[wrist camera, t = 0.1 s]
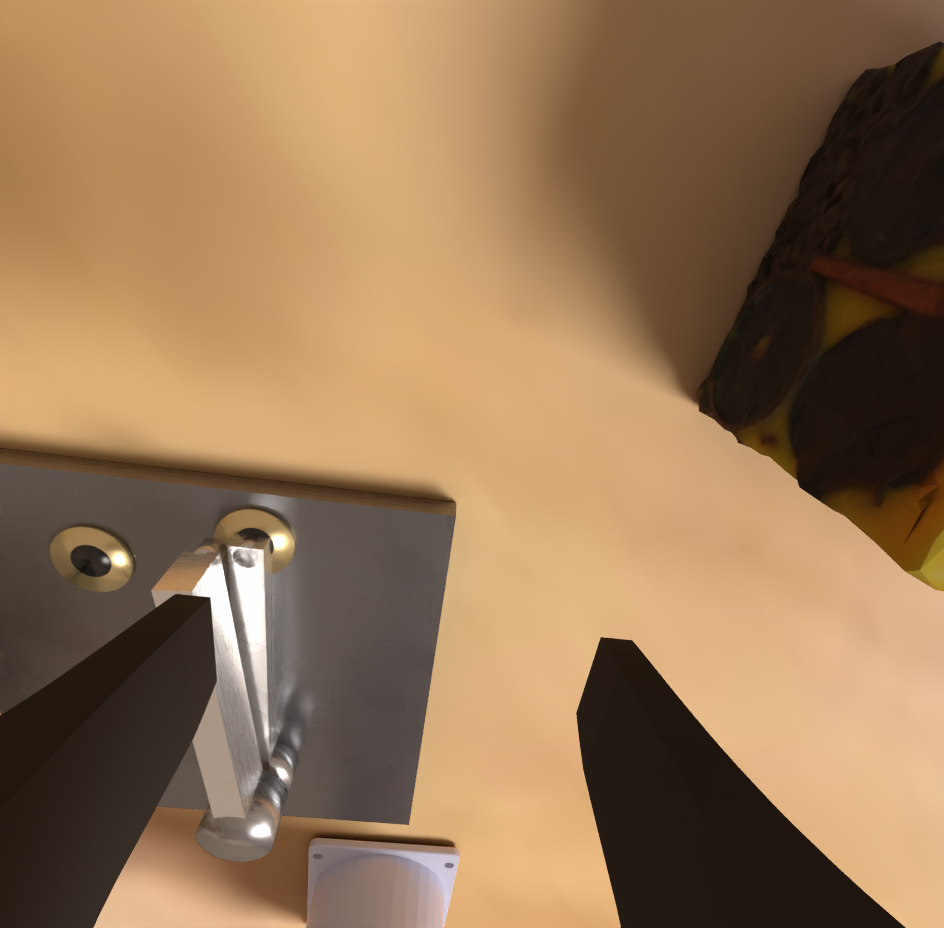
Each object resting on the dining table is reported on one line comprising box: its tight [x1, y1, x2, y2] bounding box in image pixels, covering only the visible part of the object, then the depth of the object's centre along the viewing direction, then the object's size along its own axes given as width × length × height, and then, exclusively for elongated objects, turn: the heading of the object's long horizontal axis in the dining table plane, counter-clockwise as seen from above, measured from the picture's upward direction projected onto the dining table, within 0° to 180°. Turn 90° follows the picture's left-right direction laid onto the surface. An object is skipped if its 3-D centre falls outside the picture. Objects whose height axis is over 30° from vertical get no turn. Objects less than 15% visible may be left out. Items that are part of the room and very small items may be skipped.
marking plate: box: [0, 448, 456, 825], centre depth 22 cm, size 18×18×2 cm
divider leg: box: [151, 537, 288, 862], centre depth 20 cm, size 14×3×3 cm, turn 178°
